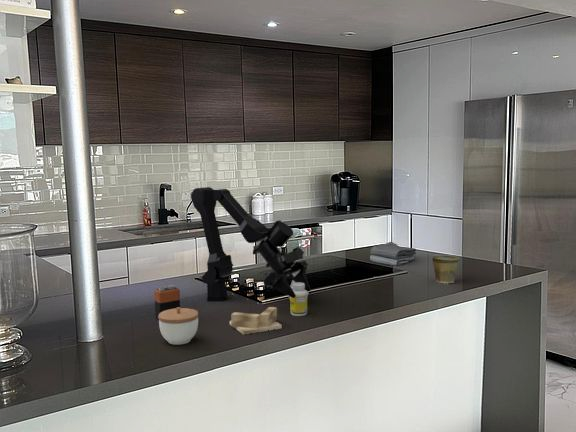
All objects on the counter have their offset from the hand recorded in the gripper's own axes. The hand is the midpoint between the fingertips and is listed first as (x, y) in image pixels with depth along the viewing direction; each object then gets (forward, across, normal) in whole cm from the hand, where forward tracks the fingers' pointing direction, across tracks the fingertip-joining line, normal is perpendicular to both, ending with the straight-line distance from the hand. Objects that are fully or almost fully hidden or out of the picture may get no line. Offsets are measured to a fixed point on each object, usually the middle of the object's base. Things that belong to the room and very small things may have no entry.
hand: (302, 293), depth 175 cm
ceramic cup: (+23, +66, -13) cm, 71 cm away
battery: (-19, -25, +29) cm, 43 cm away
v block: (+1, -17, +9) cm, 19 cm away
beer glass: (-8, +22, +13) cm, 26 cm away
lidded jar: (-6, -38, +16) cm, 42 cm away
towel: (0, +93, +10) cm, 94 cm away
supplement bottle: (+4, 0, +6) cm, 7 cm away
